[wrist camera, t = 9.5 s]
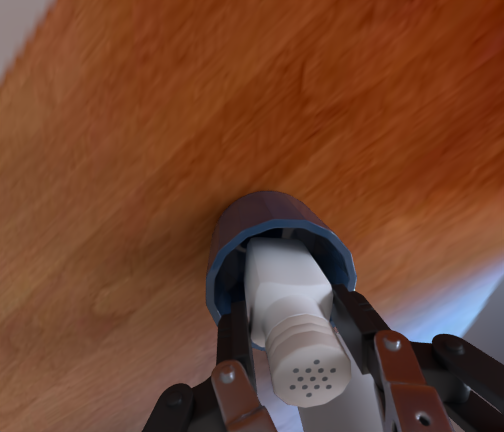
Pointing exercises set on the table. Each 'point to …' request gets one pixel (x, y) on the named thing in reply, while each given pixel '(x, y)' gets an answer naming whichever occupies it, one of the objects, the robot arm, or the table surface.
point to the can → (346, 407)
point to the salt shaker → (294, 322)
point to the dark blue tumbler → (269, 226)
